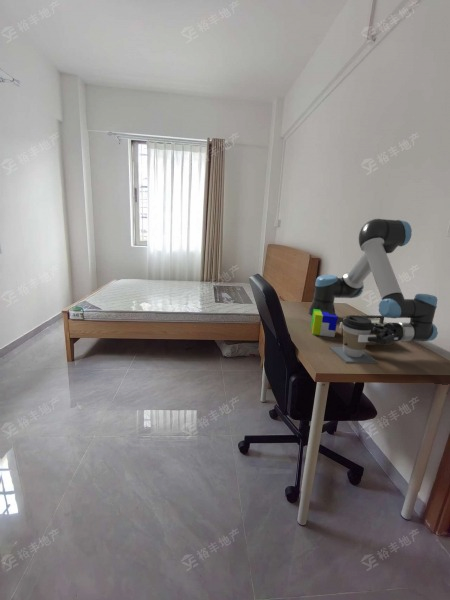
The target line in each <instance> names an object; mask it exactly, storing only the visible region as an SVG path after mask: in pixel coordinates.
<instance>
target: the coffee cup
mask: <svg viewBox="0 0 450 600" xmlns="http://www.w3.org/2000/svg"><path fill="white" fill-rule="evenodd" d="M370 319H371V318H366V317H362V316H357V314H356V315H354V314H353V315H352V314H350V315H346V317H345V319H343V318H342V321H341V322H342V324H343V334H342V347H343V352H344V354H346V355H348V356H351V357H361V356H362V354H363V352H365V349H366V347H367V345H366V344H367V342H358V337H359V335H370V332H371V330H372V329H373V324H372V323H371V320H370Z"/></svg>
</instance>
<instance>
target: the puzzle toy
mask: <svg viewBox="0 0 450 600" xmlns="http://www.w3.org/2000/svg"><path fill="white" fill-rule="evenodd" d="M311 316H312V317H311V323H310V330H311V333H312V335H314V336H321V337H332V338H335V337H336V336H335V335H336V332H337V325H338V320H339V319H338V315H337V314H336V311H335V312H334V311H327V310H318V309H313V315H311Z"/></svg>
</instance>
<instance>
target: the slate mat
mask: <svg viewBox="0 0 450 600" xmlns="http://www.w3.org/2000/svg"><path fill="white" fill-rule="evenodd" d="M329 349H330V350H331V351H332V352H333V353H334V354H336V356H338V357H339V359H341V360H342V361H343V362H344V363H345V364H357V363H358V364H361V363H363V364H364V363H368V364H369V363H371V364H372V363H373V364H374V363H375V364H377V363H378V360H377V359H376V358H374V357H373V356H371V355H370V354H368V353H367V352H365V351H364V352H363V354H362V356H361V357H351V356H348V355H346V354H344V352H343V346H329Z"/></svg>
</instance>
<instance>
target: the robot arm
mask: <svg viewBox="0 0 450 600" xmlns="http://www.w3.org/2000/svg"><path fill="white" fill-rule="evenodd" d="M412 231H413V230H412V226H411V225H410V223H409V222H408V221H405V220H401V219H396V220H395V219H385V218H374V219H370V220H369V221H367V222H366V223H365V224H364V225H363V226H362V227H361V228H360V231H359V234H358V244H359V248H360V250H361V251H362V252H364V253H363V254H362V256H361V257H360V258H359V260H358V261H357V262H356V264H355V265H354V266H353V267H352V269H351V270H350V271H349V272H345V273H344V274H343V275H342V277H338V275H332V274H323V275H320V276H317V278H316V280H315V284H314V293H313V299H312V302H311V304H310V306H309V308H308V312H309V313H308V314H309V315H310V314H311V316H312V315H313V309H318V310H327V311H334V312H335V313H336V309H335V298H336V299H355V298H358V297H359V296H361V295H362V293H363V291H364V280H366V278H367V277H368V276H369V275H370V273H372V277H373V278H374V282H375V284H376V286H377V289H378V292H379V296H380V298H381V301H379V303H378V313H379V314H380V316H383V317H384V318H387V319H409V320H410V321H409V322H386V323H387V324H385V325H384V326H381V325H379V326H378V324H377V323H372V324H373V329H372V330H371V333H374V334H377V337H376V335H359V337H358V342H376V343H381V346H385V345H386V344H388V343H391V342H393V343H396V342H402V343H403V342H429V341H433V340H435V339H436V338H437V337H438V333H439V331H438V328H437V326H436V325H435V324H434V318H435V313H436V309H437V307H438V306H437V304H438V296H436V295H433V294H429V293H416V294H415V295H414V298H405V296H404V295H403V292H402V289H401V287H400V285H399V282H398V279H397V277H396V274H395V271H394V270H393V267H392V265H391V261H390V259H389V257H388V254H392V253H394V252H395V250H396V249H397V248H398V247H403V246H406V245H407V244H408V243H409V242H410V241H411V238H412ZM342 322H343V321H341V322H339V329H340V330H342V329H343V324H342ZM373 330H374V331H373Z"/></svg>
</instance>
